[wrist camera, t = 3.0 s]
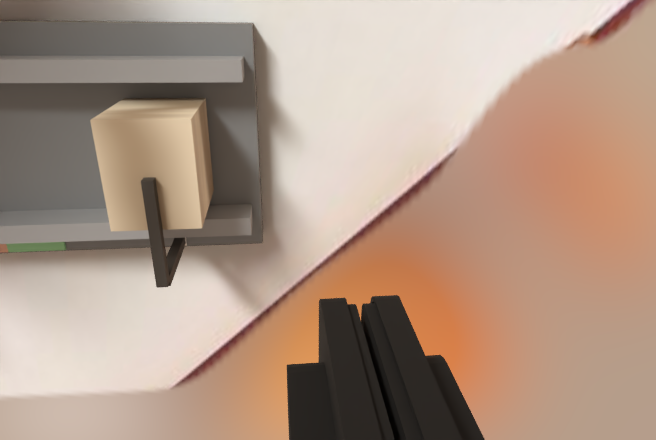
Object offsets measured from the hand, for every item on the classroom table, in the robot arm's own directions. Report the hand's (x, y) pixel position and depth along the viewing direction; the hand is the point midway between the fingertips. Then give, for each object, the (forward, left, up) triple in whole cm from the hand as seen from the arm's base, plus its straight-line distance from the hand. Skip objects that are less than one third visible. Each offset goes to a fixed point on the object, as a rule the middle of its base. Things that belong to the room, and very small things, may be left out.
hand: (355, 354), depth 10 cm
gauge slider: (+7, +1, -17) cm, 19 cm away
